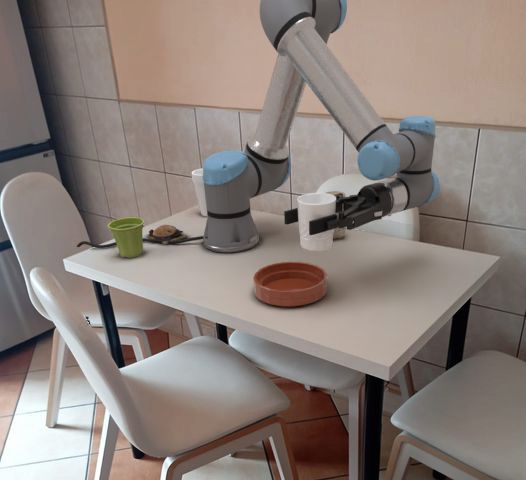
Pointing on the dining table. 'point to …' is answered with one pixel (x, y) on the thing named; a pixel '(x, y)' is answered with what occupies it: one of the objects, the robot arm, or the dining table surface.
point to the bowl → (290, 283)
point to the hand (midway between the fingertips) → (297, 223)
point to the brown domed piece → (166, 233)
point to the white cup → (310, 210)
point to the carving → (338, 231)
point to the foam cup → (200, 189)
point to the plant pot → (128, 236)
